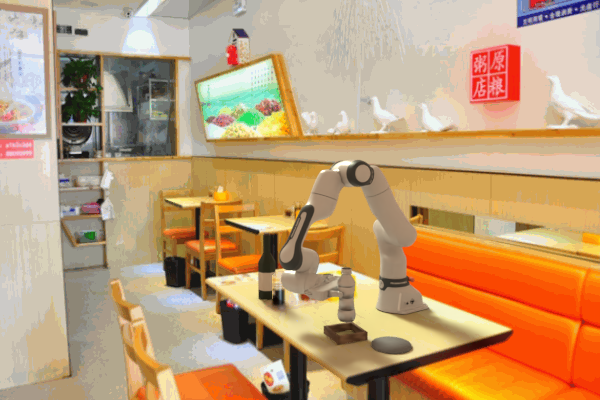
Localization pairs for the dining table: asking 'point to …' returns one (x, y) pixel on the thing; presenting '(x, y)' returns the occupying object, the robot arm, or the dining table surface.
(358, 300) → the dining table surface
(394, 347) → the serving mat
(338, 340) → the bottle holder
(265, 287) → the wine bottle
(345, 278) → the plastic bottle
